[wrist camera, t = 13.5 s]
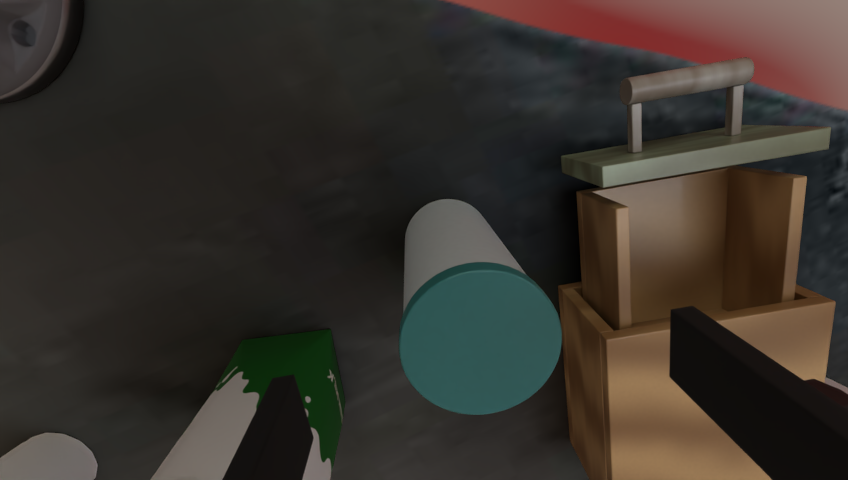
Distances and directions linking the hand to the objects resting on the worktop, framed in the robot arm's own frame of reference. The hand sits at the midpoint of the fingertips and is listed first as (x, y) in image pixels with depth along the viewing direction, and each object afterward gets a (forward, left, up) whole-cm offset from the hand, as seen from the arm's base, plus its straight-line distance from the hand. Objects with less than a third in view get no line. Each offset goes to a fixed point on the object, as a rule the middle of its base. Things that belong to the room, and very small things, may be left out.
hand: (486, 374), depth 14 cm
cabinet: (+13, +15, -17) cm, 27 cm away
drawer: (0, +15, -16) cm, 22 cm away
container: (0, 0, -17) cm, 17 cm away
